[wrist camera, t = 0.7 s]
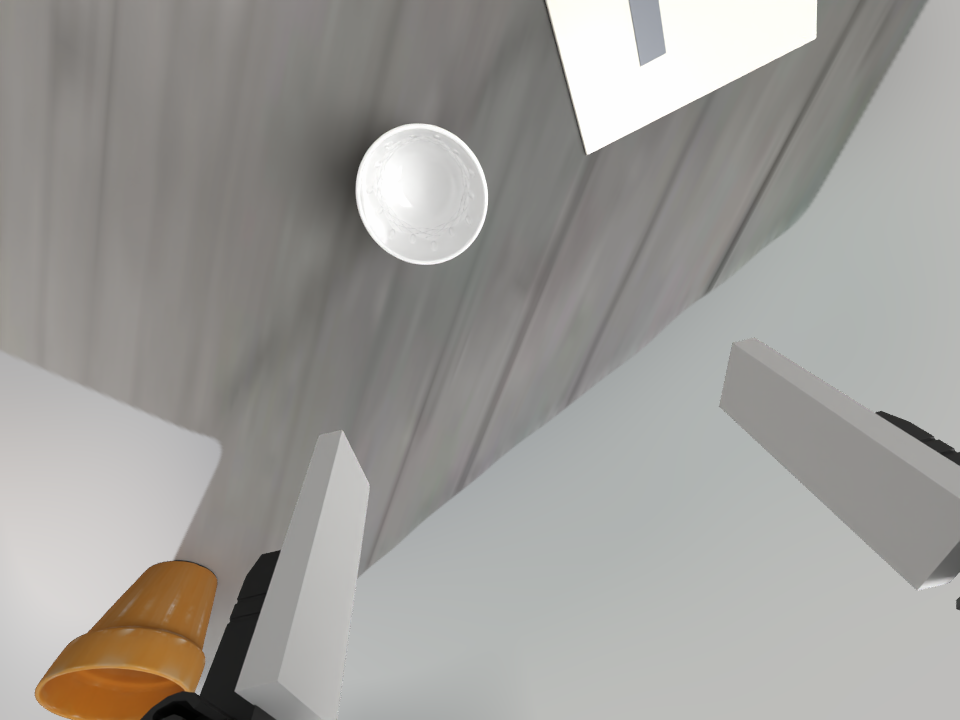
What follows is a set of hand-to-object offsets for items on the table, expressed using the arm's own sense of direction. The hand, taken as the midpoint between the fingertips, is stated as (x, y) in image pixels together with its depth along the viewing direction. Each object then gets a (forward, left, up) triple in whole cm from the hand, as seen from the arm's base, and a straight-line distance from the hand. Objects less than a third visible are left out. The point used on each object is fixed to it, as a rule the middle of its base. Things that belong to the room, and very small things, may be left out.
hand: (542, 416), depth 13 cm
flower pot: (+23, -55, -25) cm, 65 cm away
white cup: (-6, -1, -25) cm, 26 cm away
